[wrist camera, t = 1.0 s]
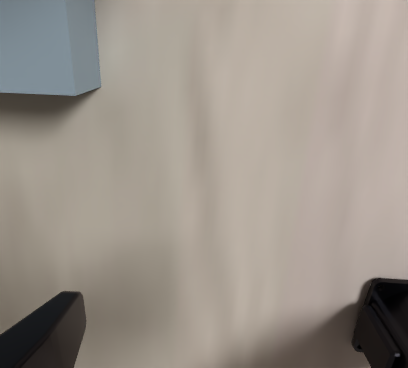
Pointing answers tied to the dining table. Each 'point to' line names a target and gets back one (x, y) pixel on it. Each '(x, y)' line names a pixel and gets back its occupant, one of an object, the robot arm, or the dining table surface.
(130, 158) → the dining table surface
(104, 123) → the dining table surface
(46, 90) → the slate base block
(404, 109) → the dining table surface
